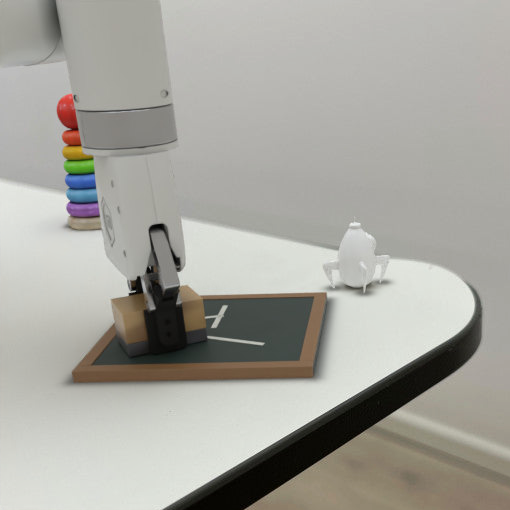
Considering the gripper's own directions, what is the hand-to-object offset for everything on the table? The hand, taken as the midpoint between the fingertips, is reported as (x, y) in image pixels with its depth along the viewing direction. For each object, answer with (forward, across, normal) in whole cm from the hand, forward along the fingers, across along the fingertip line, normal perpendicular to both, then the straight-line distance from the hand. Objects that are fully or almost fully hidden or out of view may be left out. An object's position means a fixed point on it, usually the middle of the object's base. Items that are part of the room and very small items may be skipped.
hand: (160, 338), depth 69 cm
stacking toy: (+2, -54, +5) cm, 54 cm away
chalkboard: (+1, 0, +5) cm, 5 cm away
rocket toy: (+2, -6, +23) cm, 24 cm away
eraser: (0, 0, 0) cm, 0 cm away
